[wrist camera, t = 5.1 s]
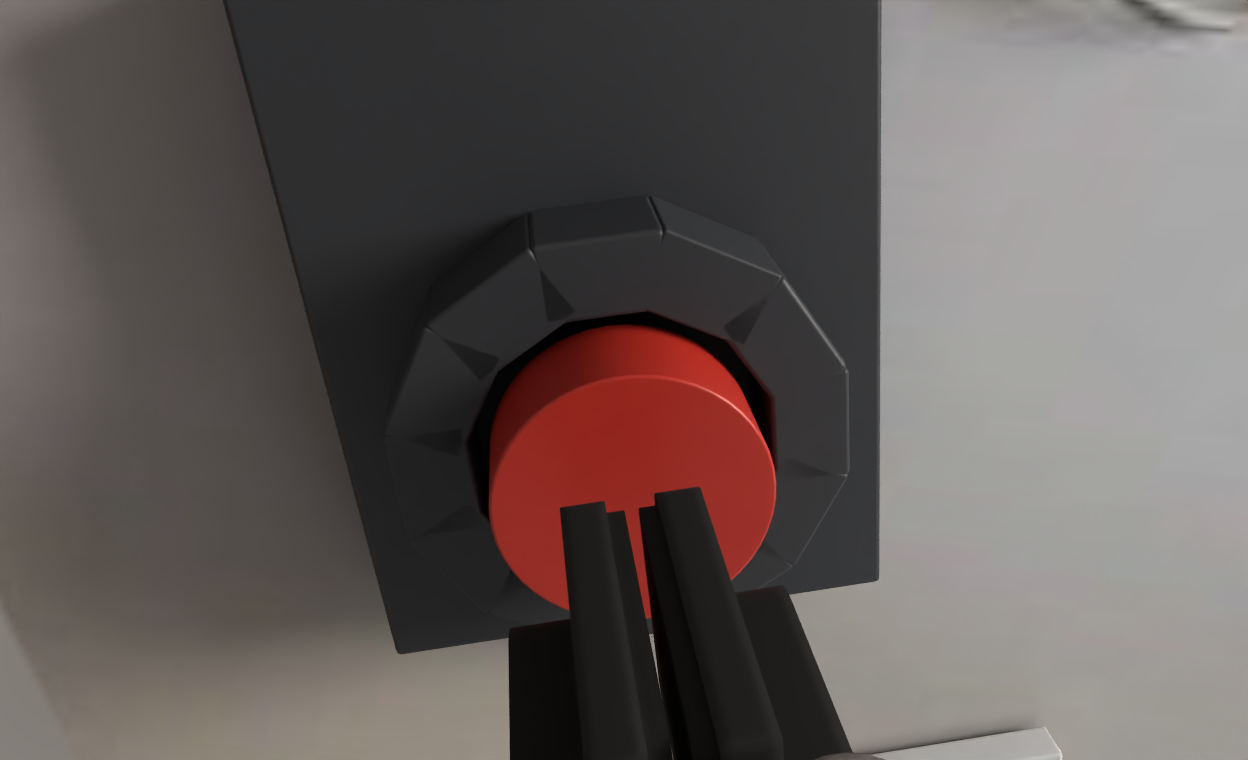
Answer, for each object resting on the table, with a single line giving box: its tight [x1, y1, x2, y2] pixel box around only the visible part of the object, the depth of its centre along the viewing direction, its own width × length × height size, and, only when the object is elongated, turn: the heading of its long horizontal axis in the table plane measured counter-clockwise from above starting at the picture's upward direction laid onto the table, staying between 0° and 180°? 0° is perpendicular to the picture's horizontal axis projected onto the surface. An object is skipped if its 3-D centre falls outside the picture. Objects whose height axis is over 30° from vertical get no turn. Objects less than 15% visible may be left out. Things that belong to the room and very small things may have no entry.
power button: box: [488, 324, 776, 619], centre depth 15 cm, size 4×4×2 cm
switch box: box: [223, 0, 881, 654], centre depth 17 cm, size 12×9×4 cm
